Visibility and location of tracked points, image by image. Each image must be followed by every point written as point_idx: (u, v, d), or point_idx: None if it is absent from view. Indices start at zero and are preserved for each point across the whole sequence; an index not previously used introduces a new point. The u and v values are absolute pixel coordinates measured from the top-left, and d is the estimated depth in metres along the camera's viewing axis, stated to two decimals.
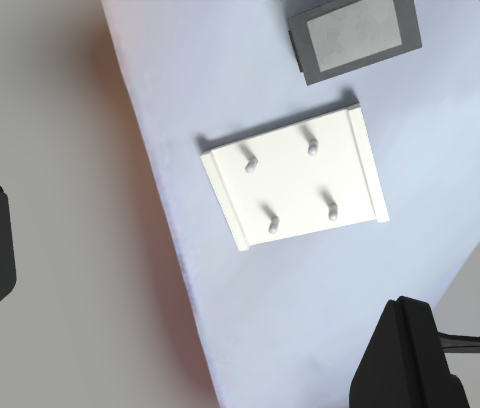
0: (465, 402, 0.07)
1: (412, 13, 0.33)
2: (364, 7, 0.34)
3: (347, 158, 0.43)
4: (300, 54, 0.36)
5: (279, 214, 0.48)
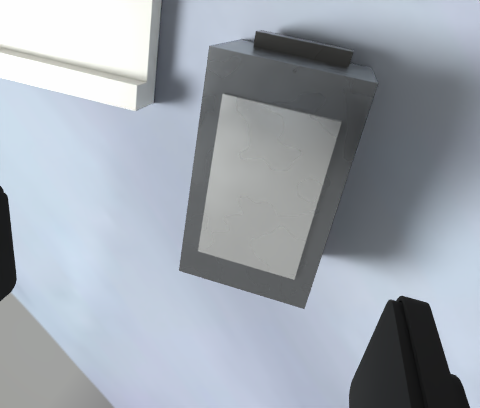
0: (464, 402, 0.07)
1: (237, 283, 0.18)
2: (292, 232, 0.16)
3: (50, 29, 0.20)
4: (284, 69, 0.14)
5: None
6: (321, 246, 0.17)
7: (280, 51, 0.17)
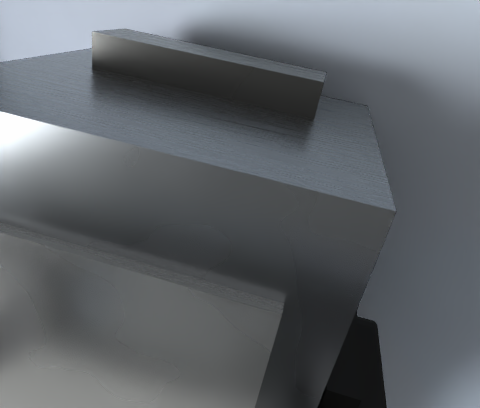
0: (377, 341, 0.08)
1: None
2: None
3: None
4: (99, 155, 0.04)
5: None
6: None
7: (153, 79, 0.07)
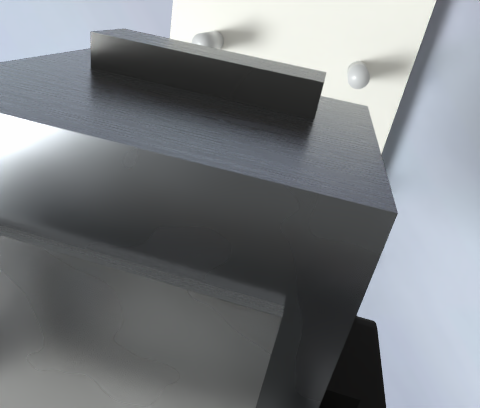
0: (377, 341, 0.08)
1: None
2: None
3: None
4: (98, 156, 0.04)
5: None
6: None
7: (152, 79, 0.07)
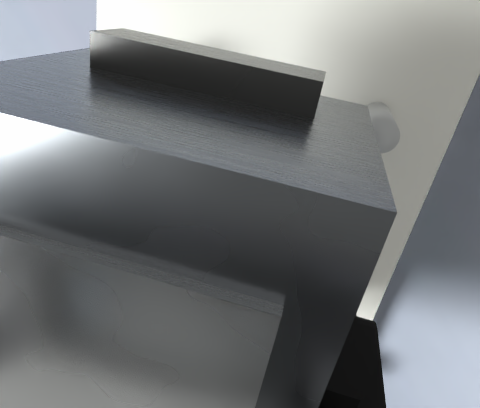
0: (377, 341, 0.08)
1: None
2: None
3: None
4: (97, 156, 0.04)
5: None
6: None
7: (151, 79, 0.07)
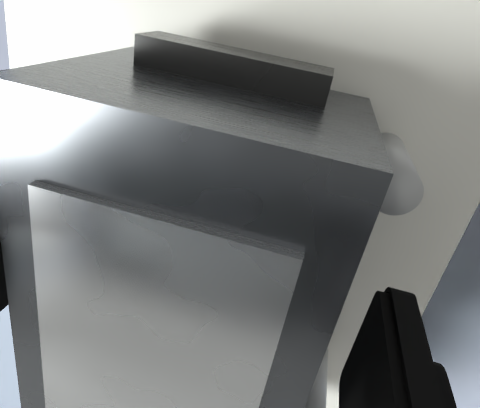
0: (448, 389, 0.07)
1: None
2: None
3: None
4: (159, 132, 0.06)
5: None
6: None
7: (186, 74, 0.08)
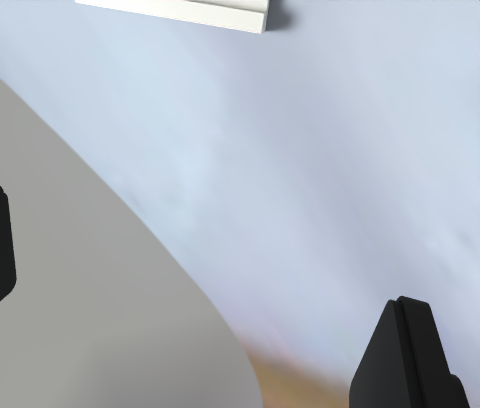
0: (465, 402, 0.07)
1: None
2: None
3: None
4: None
5: None
6: None
7: None
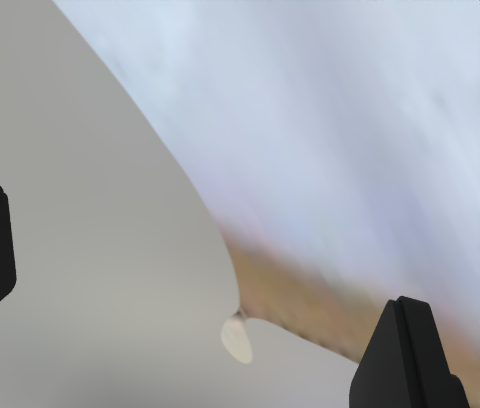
0: (464, 402, 0.07)
1: None
2: None
3: None
4: None
5: None
6: None
7: None
